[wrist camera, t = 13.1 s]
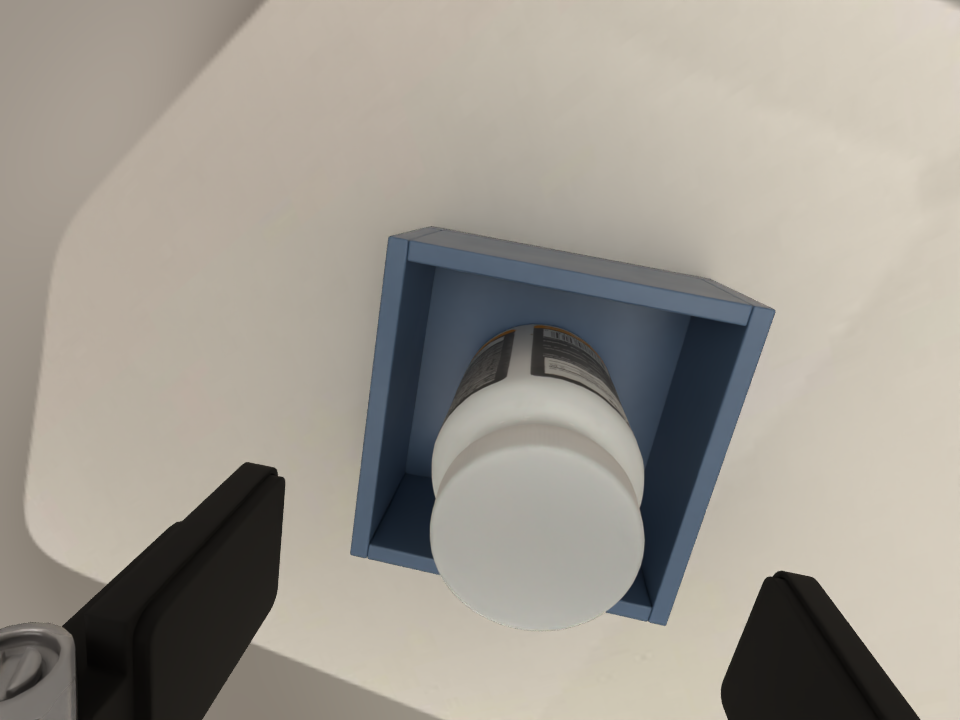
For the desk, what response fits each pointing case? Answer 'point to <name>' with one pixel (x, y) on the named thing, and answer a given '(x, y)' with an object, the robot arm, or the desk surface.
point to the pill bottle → (537, 484)
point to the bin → (598, 321)
